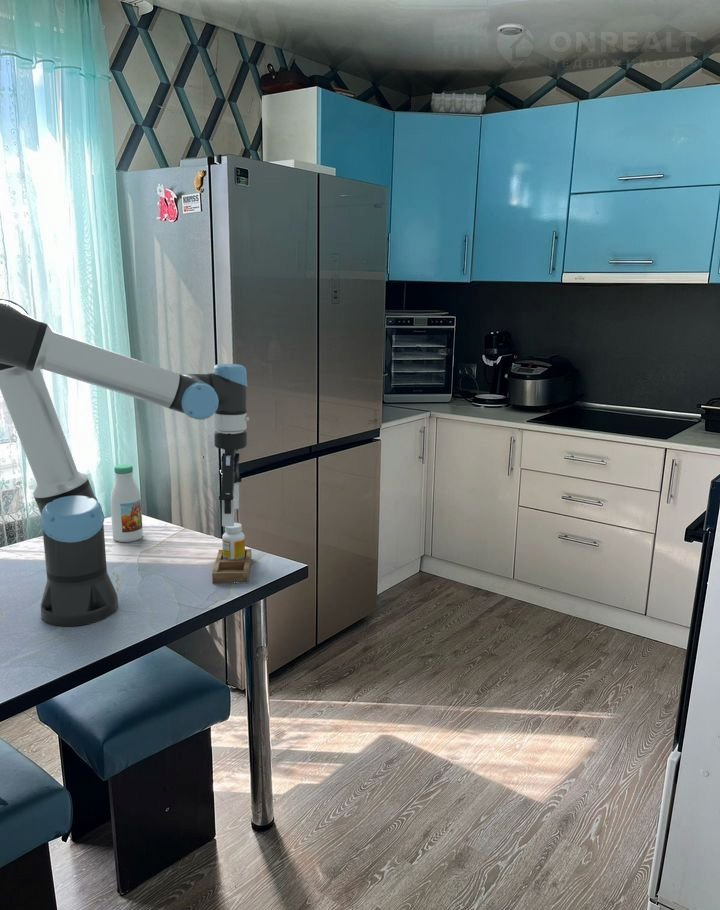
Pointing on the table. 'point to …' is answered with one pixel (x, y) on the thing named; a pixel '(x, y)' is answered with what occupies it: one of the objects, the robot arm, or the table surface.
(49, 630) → the table surface
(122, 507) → the milk bottle
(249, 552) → the compartment tray
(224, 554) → the supplement bottle
